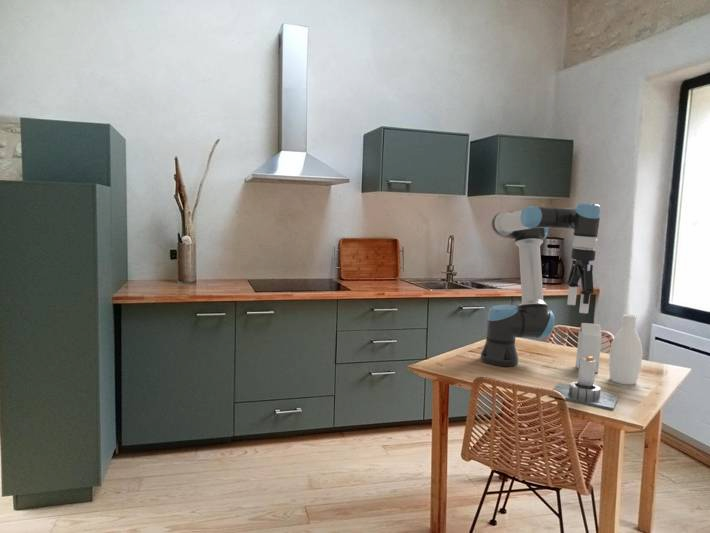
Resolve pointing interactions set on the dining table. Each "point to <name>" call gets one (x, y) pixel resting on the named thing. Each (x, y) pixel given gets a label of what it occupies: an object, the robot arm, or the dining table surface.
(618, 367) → the bottle
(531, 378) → the dining table surface
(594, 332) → the milk carton
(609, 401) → the flange plate
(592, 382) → the block
